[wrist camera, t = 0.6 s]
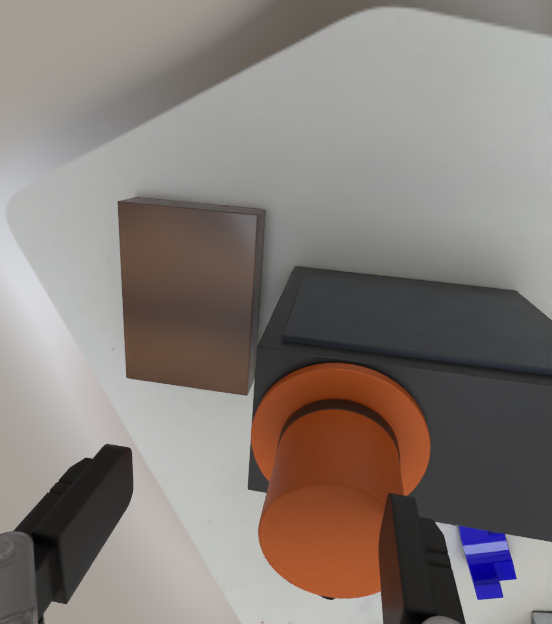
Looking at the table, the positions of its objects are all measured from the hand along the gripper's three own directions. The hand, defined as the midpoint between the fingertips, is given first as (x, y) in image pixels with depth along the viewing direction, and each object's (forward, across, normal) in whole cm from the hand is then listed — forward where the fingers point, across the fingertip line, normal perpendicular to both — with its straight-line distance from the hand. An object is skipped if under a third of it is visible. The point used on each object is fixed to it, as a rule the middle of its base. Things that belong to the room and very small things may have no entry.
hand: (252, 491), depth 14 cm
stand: (+22, +9, +1) cm, 24 cm away
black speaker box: (+22, -7, +2) cm, 23 cm away
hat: (+7, -3, +2) cm, 8 cm away
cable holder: (+22, -17, +19) cm, 34 cm away
